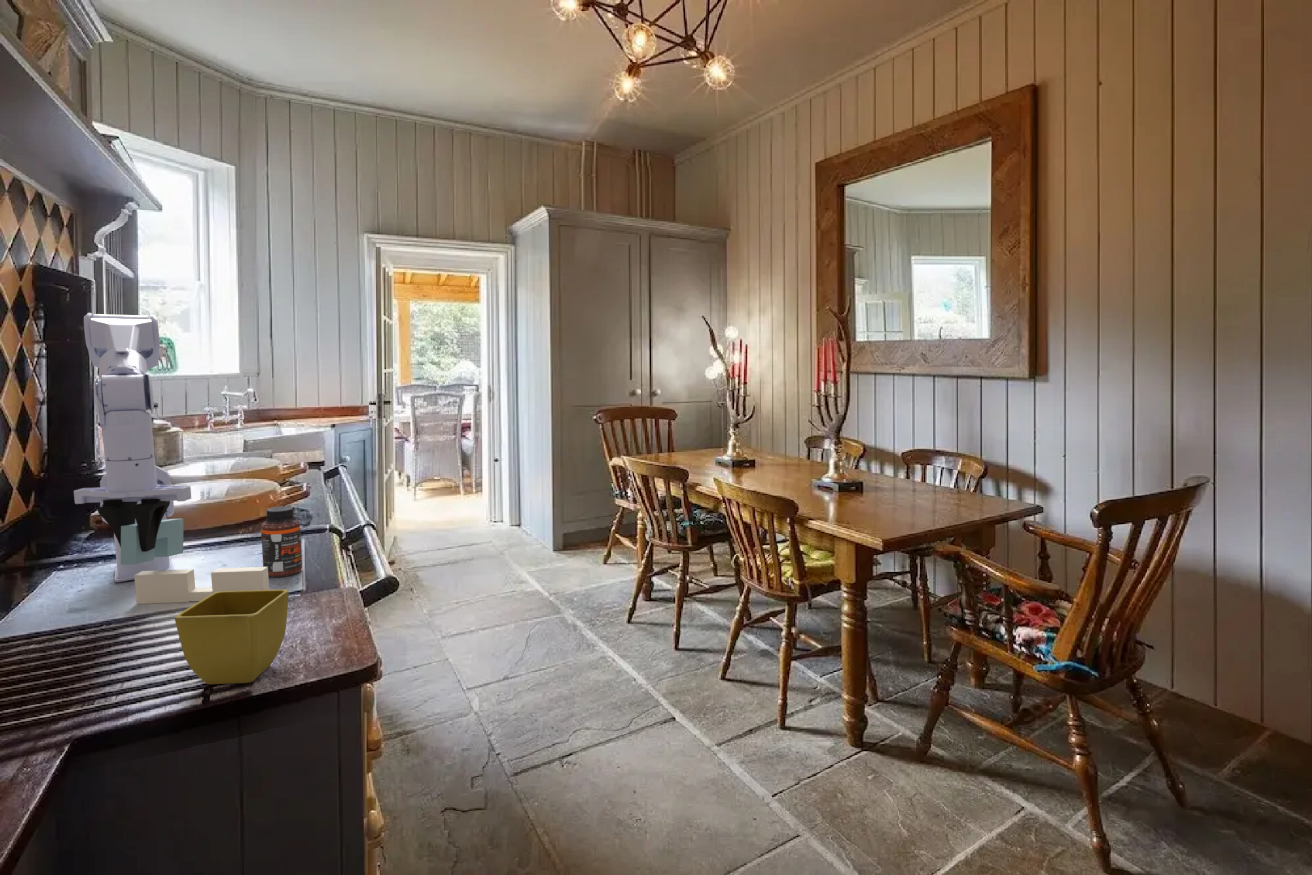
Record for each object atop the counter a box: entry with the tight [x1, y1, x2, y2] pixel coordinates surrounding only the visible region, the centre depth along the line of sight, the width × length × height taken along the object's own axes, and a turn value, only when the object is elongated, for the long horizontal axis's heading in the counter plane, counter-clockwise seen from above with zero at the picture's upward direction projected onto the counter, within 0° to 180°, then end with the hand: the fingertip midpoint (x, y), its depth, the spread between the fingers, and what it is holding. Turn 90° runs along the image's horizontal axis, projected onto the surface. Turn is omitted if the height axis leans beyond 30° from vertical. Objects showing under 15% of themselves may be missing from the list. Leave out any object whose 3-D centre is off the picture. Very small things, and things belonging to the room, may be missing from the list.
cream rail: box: [134, 566, 270, 605], centre depth 105 cm, size 18×2×4 cm, turn 98°
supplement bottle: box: [260, 505, 303, 578], centre depth 118 cm, size 6×6×11 cm
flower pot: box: [174, 588, 290, 685], centre depth 81 cm, size 9×9×9 cm
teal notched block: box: [121, 518, 184, 565], centre depth 104 cm, size 12×2×6 cm, turn 7°
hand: (138, 550), depth 100 cm, fingers closed on teal notched block, 2 cm apart
